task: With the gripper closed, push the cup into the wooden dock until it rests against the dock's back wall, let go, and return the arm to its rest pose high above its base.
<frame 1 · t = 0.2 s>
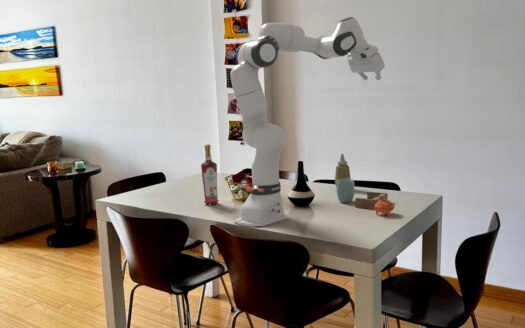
hand: (372, 79, 221), 54 cm above the table, tool tilted 30°, fingers open, 8 cm apart
orange rounded figure: (384, 215, 200), on the table
squeeze bottle: (343, 189, 248), on the table
dock: (372, 204, 216), on the table
liquor: (211, 204, 232), on the table
cup: (345, 202, 224), on the table
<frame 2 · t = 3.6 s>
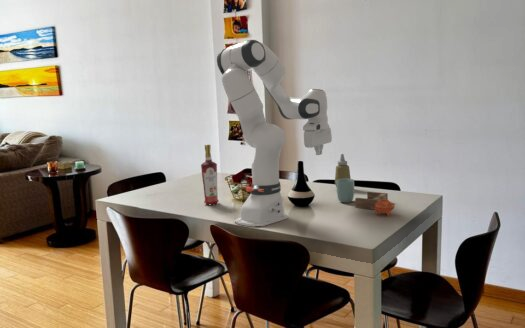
hand: (319, 154, 227), 21 cm above the table, tool pointing down, fingers closed
nothing on the table moved.
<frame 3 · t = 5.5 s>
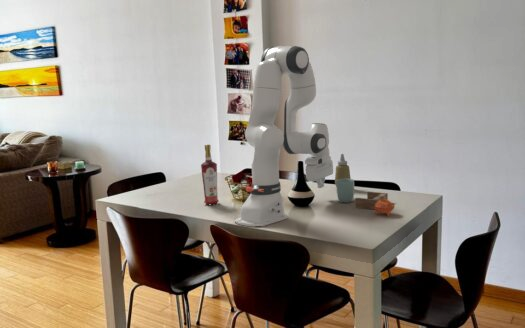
hand: (320, 187, 230), 6 cm above the table, tool pointing down, fingers closed
nothing on the table moved.
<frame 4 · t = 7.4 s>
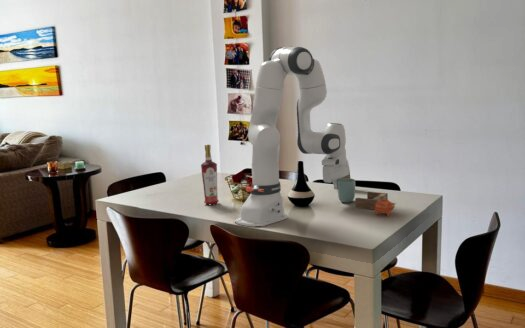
hand: (337, 188, 225), 6 cm above the table, tool pointing down, fingers closed, pressing on cup
cup: (346, 202, 223), on the table, touching gripper
everything else where it was.
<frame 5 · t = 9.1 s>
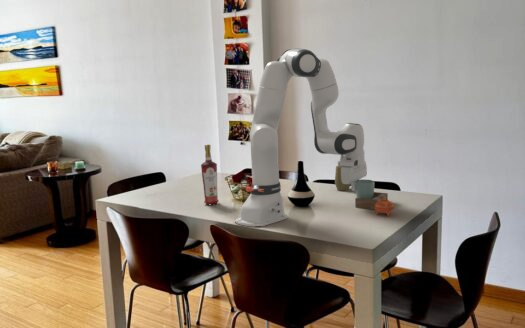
hand: (355, 190, 220), 6 cm above the table, tool pointing down, fingers closed, pressing on cup
cup: (364, 203, 219), on the table, touching gripper
everything else where it was.
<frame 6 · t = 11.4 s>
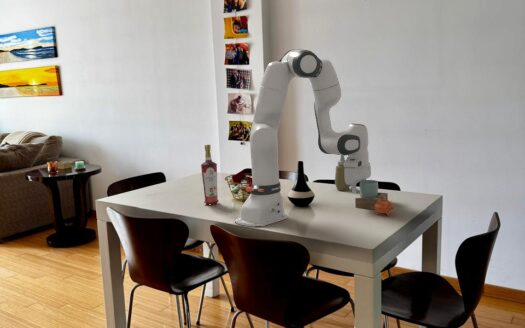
hand: (358, 191, 219), 6 cm above the table, tool pointing down, fingers open, 7 cm apart
cup: (369, 204, 218), on the table
everything else where it was.
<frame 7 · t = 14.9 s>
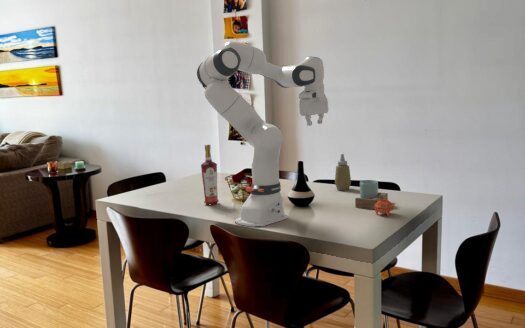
hand: (314, 124, 224), 35 cm above the table, tool pointing down, fingers open, 8 cm apart
nothing on the table moved.
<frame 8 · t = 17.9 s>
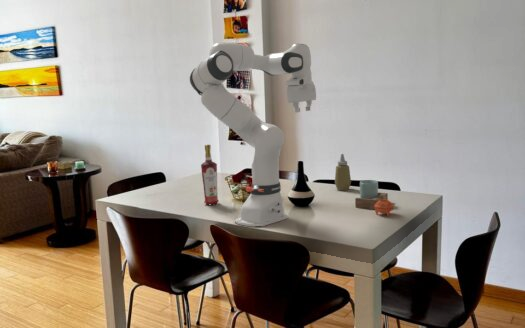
hand: (302, 111, 225), 41 cm above the table, tool pointing down, fingers open, 8 cm apart
nothing on the table moved.
at the end: cup 1.1 cm from the target spot on the dock, point 0.0 cm above the dock's base; cup tilted 0°; the gripper is holding nothing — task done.
